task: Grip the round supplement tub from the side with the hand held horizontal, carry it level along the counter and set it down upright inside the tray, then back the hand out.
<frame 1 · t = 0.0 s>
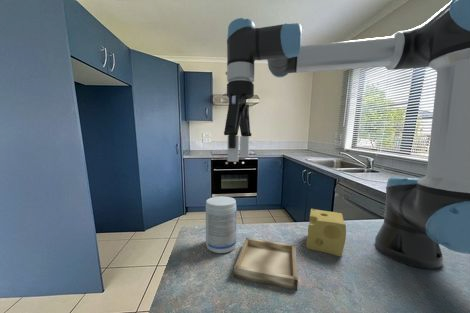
hand: (239, 158, 56), 28 cm above the countertop, tool pointing down, fingers open, 13 cm apart
tray: (267, 263, 52), on the countertop
supplement tub: (221, 246, 61), on the countertop
cheese: (324, 245, 62), on the countertop
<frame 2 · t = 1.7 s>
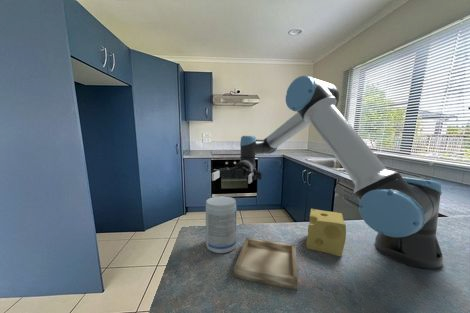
hand: (230, 178, 69), 20 cm above the countertop, tool horizontal, fingers open, 13 cm apart
nothing on the countertop moved.
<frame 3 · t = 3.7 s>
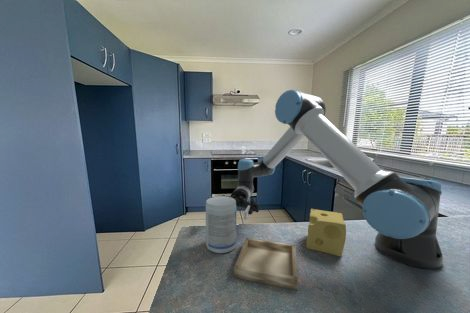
hand: (226, 213, 67), 8 cm above the countertop, tool horizontal, fingers open, 13 cm apart
nothing on the countertop moved.
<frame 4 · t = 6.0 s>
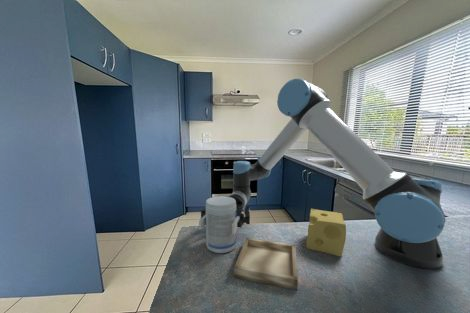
hand: (216, 227, 56), 8 cm above the countertop, tool horizontal, fingers closed on supplement tub, 9 cm apart
supplement tub: (221, 246, 61), on the countertop, touching gripper
everything else where it was.
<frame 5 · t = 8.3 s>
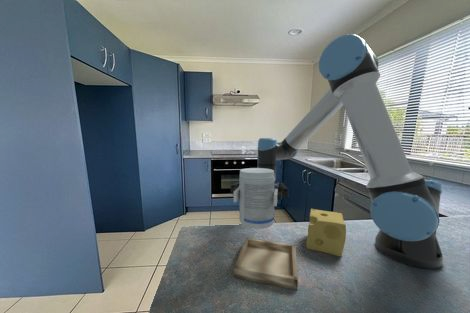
hand: (254, 198, 48), 19 cm above the countertop, tool horizontal, fingers closed on supplement tub, 9 cm apart
supplement tub: (256, 223, 53), point 10 cm above the countertop, touching gripper
everything else where it was.
when the fingers open (10 cm above the countertop, at t = 10.8 s): supplement tub drops 1 cm, resting on tray.
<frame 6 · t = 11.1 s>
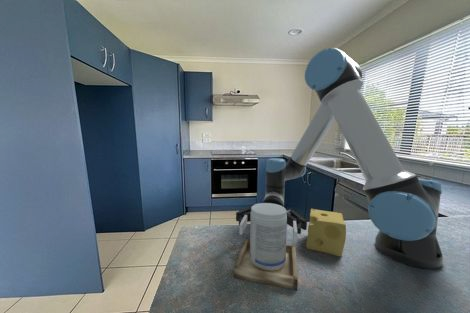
hand: (267, 233, 48), 10 cm above the countertop, tool horizontal, fingers open, 13 cm apart
supplement tub: (266, 261, 52), point 1 cm above the countertop, touching tray
everything else where it was.
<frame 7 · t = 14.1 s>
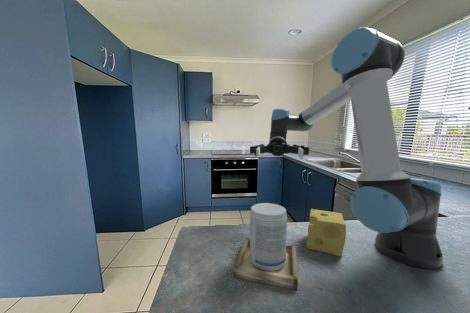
hand: (279, 154, 60), 29 cm above the countertop, tool horizontal, fingers open, 13 cm apart
nothing on the countertop moved.
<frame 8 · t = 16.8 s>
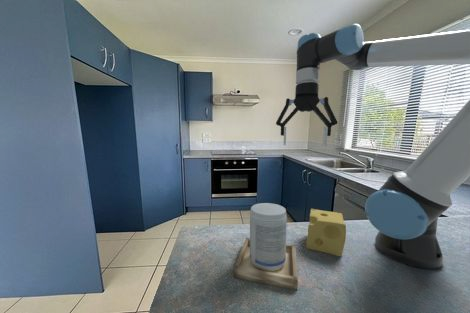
hand: (304, 145, 69), 32 cm above the countertop, tool pointing down, fingers open, 13 cm apart
nothing on the countertop moved.
at the end: supplement tub inside the target area on the tray (0.1 cm from its centre), point 0.6 cm above the tray's base; supplement tub tilted 0°; the gripper is holding nothing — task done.
